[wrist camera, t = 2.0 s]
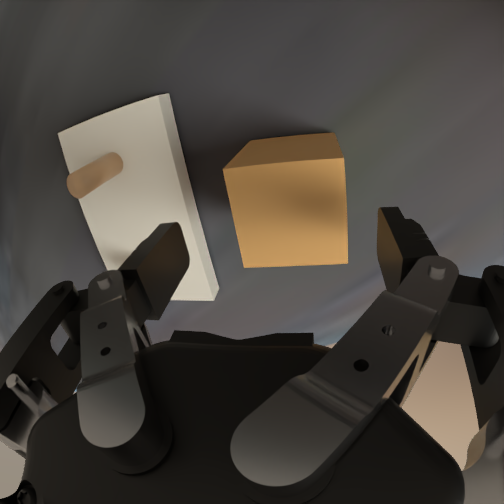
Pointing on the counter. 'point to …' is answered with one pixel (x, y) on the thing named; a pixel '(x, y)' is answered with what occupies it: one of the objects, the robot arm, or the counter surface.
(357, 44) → the counter surface
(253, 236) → the light orange block
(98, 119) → the base
